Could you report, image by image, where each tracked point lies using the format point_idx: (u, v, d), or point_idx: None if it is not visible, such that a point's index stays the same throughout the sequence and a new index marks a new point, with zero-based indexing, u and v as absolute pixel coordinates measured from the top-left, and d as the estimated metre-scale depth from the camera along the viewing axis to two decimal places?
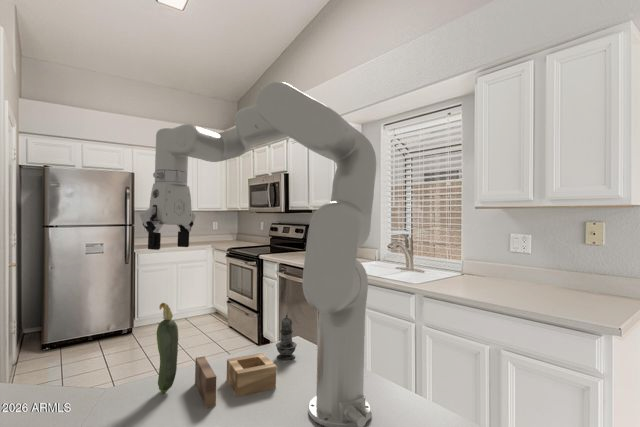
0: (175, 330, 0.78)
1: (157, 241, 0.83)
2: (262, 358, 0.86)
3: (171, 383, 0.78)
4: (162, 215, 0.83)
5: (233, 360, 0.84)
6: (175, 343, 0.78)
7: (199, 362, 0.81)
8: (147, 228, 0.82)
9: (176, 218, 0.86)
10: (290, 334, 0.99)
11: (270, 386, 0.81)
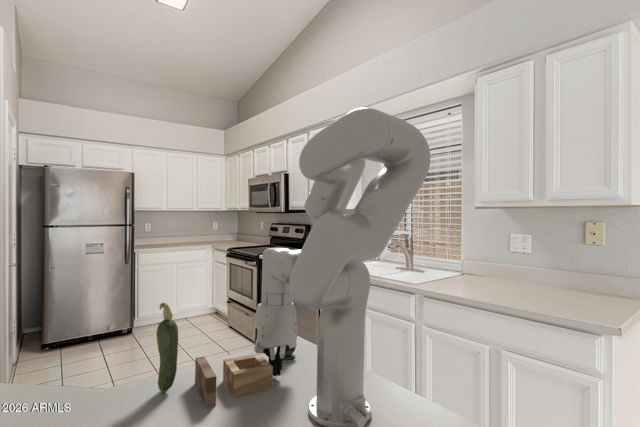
0: (175, 330, 0.78)
1: None
2: (259, 359, 0.86)
3: (171, 383, 0.78)
4: None
5: (229, 361, 0.84)
6: (175, 343, 0.78)
7: (199, 362, 0.81)
8: None
9: None
10: None
11: (267, 387, 0.81)
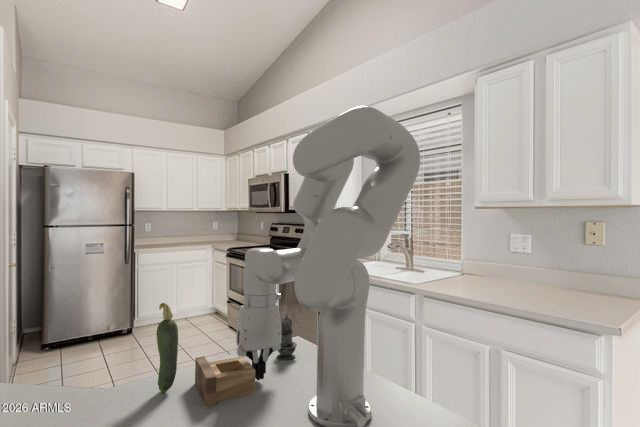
0: (175, 330, 0.78)
1: None
2: (242, 362, 0.84)
3: (171, 383, 0.78)
4: None
5: (212, 364, 0.82)
6: (175, 343, 0.78)
7: (199, 362, 0.81)
8: None
9: None
10: (290, 334, 0.99)
11: (249, 391, 0.79)
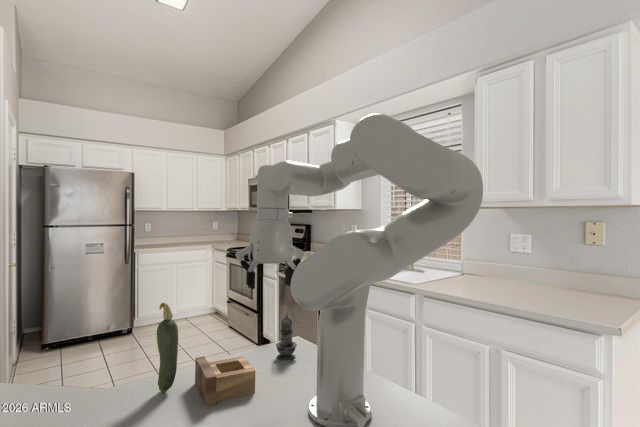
0: (175, 330, 0.78)
1: None
2: (242, 362, 0.84)
3: (171, 383, 0.78)
4: None
5: (212, 364, 0.82)
6: (175, 343, 0.78)
7: (199, 362, 0.81)
8: None
9: None
10: (290, 334, 0.99)
11: (249, 391, 0.79)
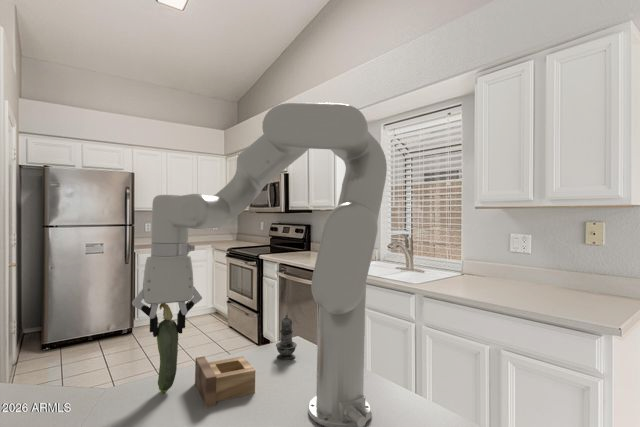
0: (175, 330, 0.78)
1: None
2: (242, 362, 0.84)
3: (171, 383, 0.78)
4: None
5: (212, 364, 0.82)
6: (175, 343, 0.78)
7: (199, 362, 0.81)
8: None
9: None
10: (290, 334, 0.99)
11: (249, 391, 0.79)
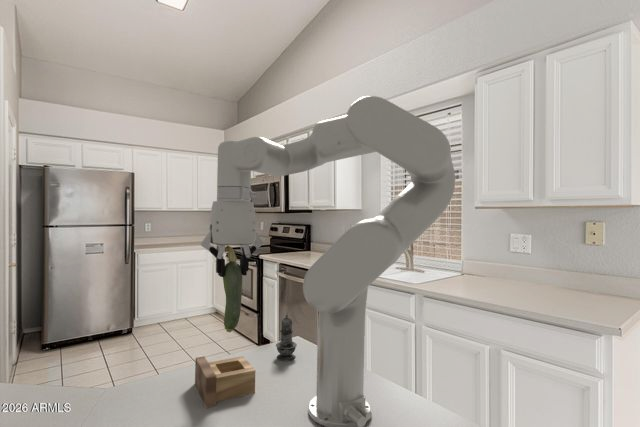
0: (240, 271, 0.81)
1: None
2: (242, 362, 0.84)
3: (236, 323, 0.81)
4: None
5: (212, 364, 0.82)
6: (240, 284, 0.81)
7: (199, 362, 0.81)
8: None
9: None
10: (290, 334, 0.99)
11: (249, 391, 0.79)
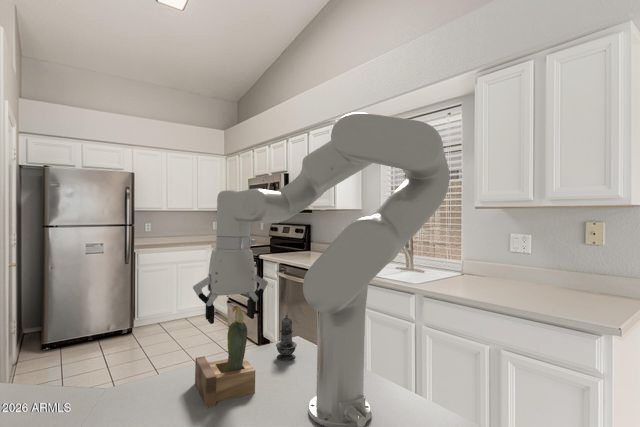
0: (246, 333, 0.78)
1: None
2: None
3: None
4: None
5: (212, 364, 0.82)
6: (244, 345, 0.79)
7: (199, 362, 0.81)
8: None
9: None
10: (290, 334, 0.99)
11: (249, 391, 0.79)
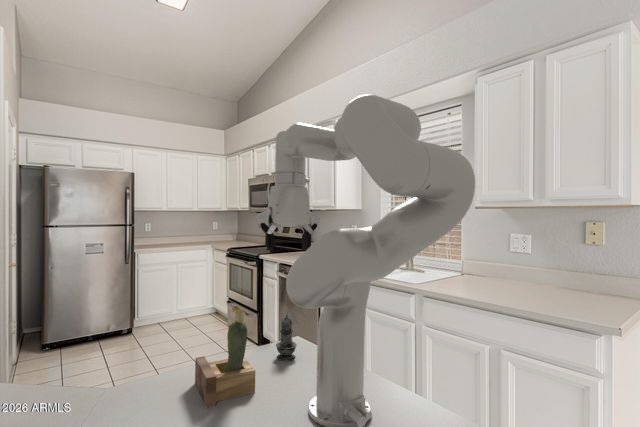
0: (246, 333, 0.78)
1: None
2: None
3: None
4: None
5: (212, 364, 0.82)
6: (244, 345, 0.79)
7: (199, 362, 0.81)
8: None
9: None
10: (290, 334, 0.99)
11: (249, 391, 0.79)
